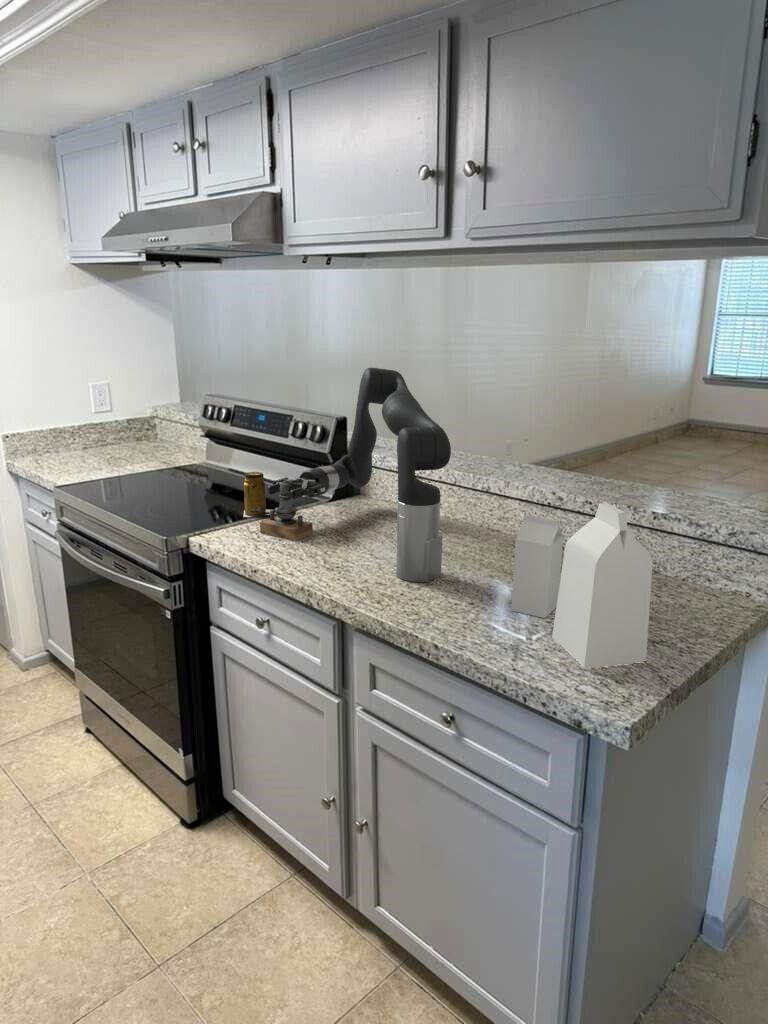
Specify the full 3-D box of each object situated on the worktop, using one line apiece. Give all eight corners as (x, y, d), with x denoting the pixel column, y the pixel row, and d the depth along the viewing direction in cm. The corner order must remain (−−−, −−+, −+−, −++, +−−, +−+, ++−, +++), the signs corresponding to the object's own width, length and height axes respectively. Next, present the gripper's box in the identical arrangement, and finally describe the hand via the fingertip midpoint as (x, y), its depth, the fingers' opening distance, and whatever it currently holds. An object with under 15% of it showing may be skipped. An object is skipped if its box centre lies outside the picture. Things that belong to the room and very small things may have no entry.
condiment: (243, 511, 210) (242, 470, 207) (273, 510, 212) (272, 470, 209) (243, 517, 204) (241, 476, 200) (273, 517, 205) (272, 475, 202)
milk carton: (545, 619, 139) (553, 525, 134) (510, 611, 142) (517, 519, 137) (557, 607, 145) (565, 516, 140) (524, 599, 148) (530, 510, 143)
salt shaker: (286, 526, 185) (285, 481, 182) (270, 522, 188) (268, 478, 185) (302, 521, 190) (301, 477, 186) (286, 517, 193) (285, 474, 190)
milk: (551, 638, 131) (563, 500, 124) (609, 633, 133) (623, 497, 126) (584, 669, 119) (599, 519, 112) (645, 663, 122) (664, 516, 115)
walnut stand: (312, 534, 189) (312, 514, 188) (295, 540, 184) (295, 520, 182) (277, 526, 196) (277, 507, 194) (260, 532, 190) (259, 512, 188)
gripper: (299, 464, 201) (258, 474, 188) (340, 471, 193) (301, 482, 180) (299, 490, 203) (259, 502, 190) (340, 498, 195) (301, 511, 182)
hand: (280, 492), depth 185 cm, fingers open, 7 cm apart
